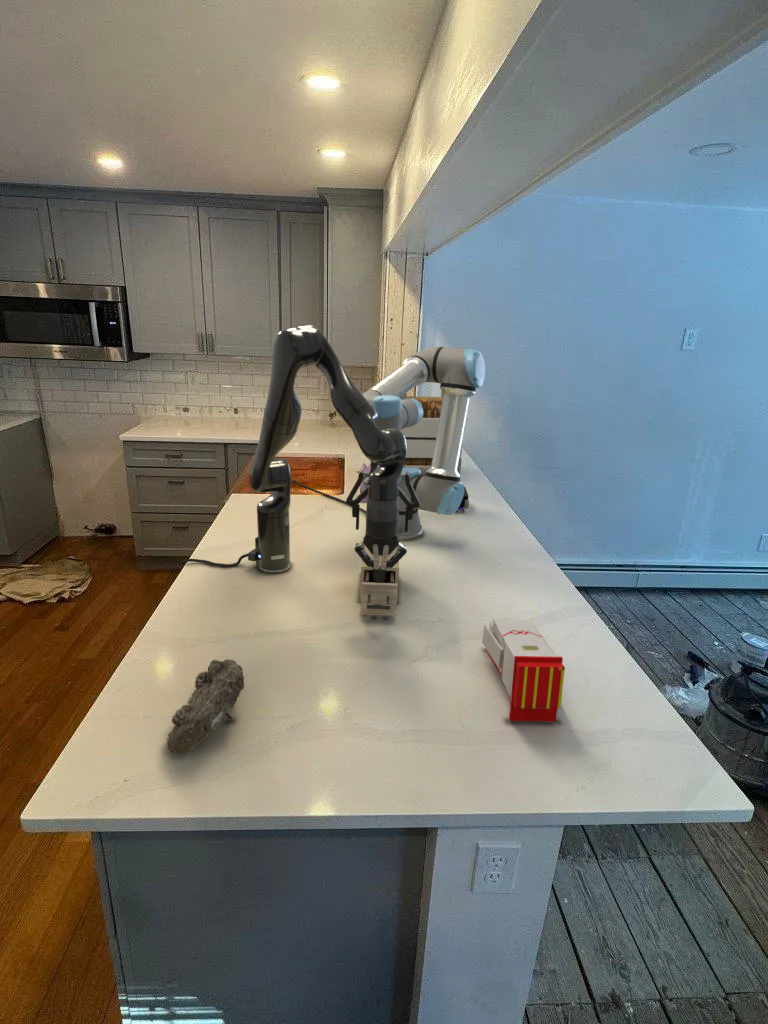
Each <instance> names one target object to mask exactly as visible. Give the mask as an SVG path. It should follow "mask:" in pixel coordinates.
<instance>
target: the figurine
mask: <svg viewBox="0 0 768 1024" xmlns="http://www.w3.org/2000/svg"><path fill="white" fill-rule="evenodd" d="M370 468H371V463H370V464H369V465H368V466H367V464H366V463H362V468H361V470H362V471H363V472H367V473H369V472H370ZM368 481H369V477H366V479H365V480H362V483H361V485H360V487H359V494H360V493H361V492H362V491H363V490H364V489H365V488H366V487H367V486H368ZM367 500H368V495H367V496H366V497H365V498H364V499H363V500H362V501H361V502H364V503H365V502H366V503H367Z"/></svg>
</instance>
